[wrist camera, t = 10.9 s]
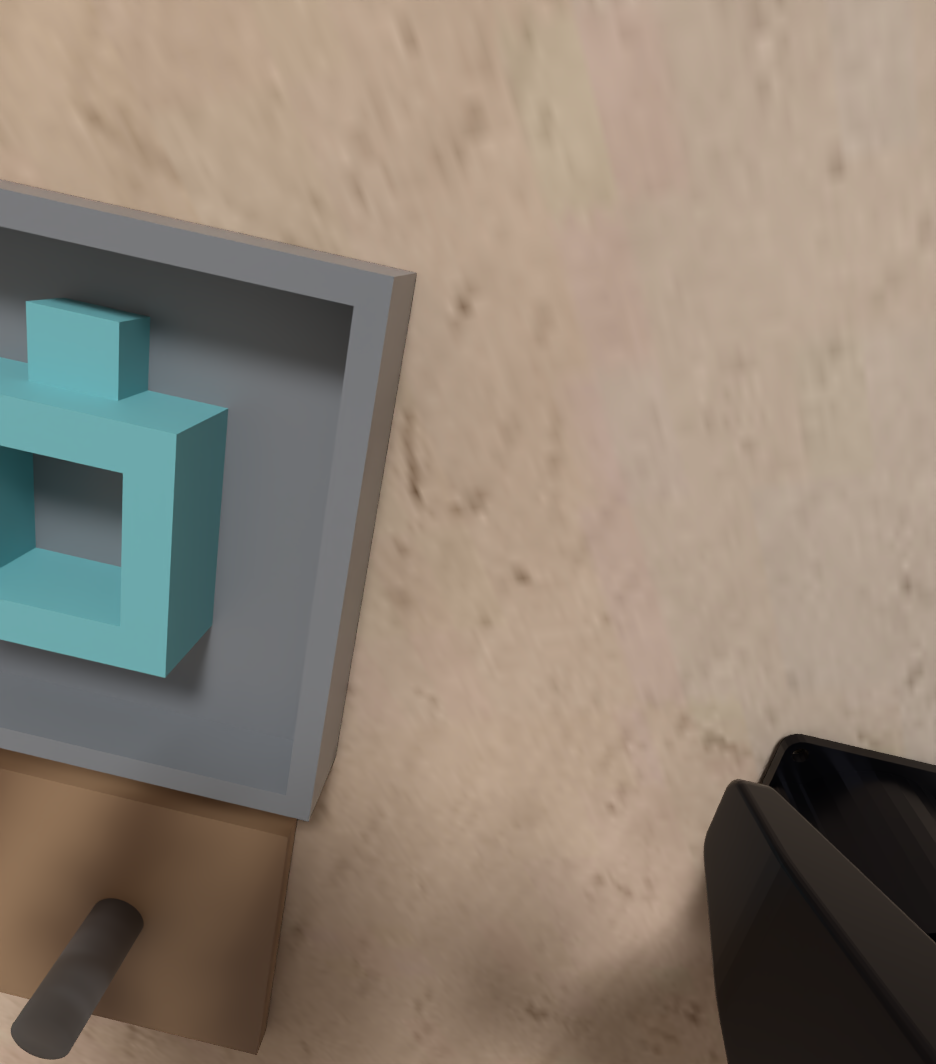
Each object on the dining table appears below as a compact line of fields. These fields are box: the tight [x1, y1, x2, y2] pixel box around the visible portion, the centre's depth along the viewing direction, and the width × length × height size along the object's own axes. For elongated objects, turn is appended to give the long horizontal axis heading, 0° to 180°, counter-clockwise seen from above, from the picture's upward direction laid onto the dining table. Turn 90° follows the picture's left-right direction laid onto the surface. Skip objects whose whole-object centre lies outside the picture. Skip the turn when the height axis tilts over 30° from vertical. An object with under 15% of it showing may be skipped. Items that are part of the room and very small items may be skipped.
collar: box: [0, 298, 228, 678], centre depth 19 cm, size 7×9×3 cm
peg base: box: [0, 748, 297, 1059], centre depth 26 cm, size 12×12×6 cm
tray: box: [0, 179, 417, 822], centre depth 20 cm, size 16×16×3 cm
